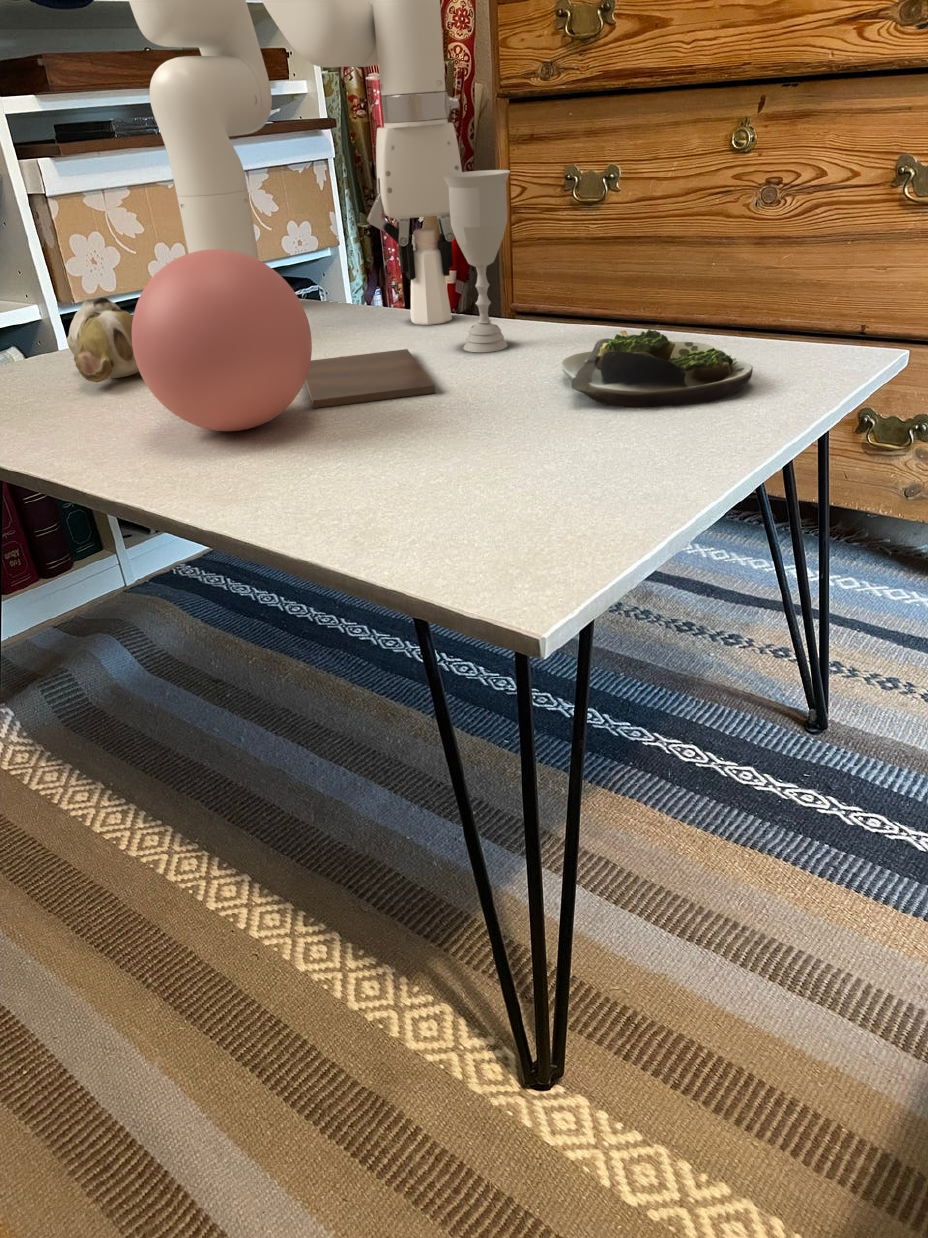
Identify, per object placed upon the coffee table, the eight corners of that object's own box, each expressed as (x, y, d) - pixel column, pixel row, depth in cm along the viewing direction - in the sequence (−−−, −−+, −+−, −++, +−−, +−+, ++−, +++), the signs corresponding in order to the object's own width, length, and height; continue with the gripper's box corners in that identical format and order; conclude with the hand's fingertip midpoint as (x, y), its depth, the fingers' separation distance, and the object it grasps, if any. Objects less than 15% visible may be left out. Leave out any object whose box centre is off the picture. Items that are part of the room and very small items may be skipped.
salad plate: (529, 364, 100) (527, 320, 98) (689, 346, 102) (691, 302, 100) (583, 417, 83) (582, 365, 81) (773, 394, 86) (778, 342, 83)
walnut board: (301, 368, 105) (300, 361, 104) (408, 355, 107) (407, 348, 106) (313, 408, 91) (312, 400, 91) (435, 392, 93) (435, 384, 93)
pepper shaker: (402, 321, 123) (393, 230, 118) (435, 313, 126) (429, 224, 120) (426, 327, 119) (418, 233, 114) (460, 319, 122) (454, 227, 116)
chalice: (480, 357, 104) (470, 177, 95) (442, 348, 109) (429, 176, 100) (529, 344, 108) (524, 170, 99) (490, 336, 113) (482, 169, 104)
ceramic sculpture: (126, 278, 111) (174, 302, 101) (143, 352, 116) (190, 382, 105) (33, 294, 106) (74, 321, 96) (54, 371, 111) (95, 404, 100)
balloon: (266, 383, 100) (240, 228, 93) (351, 427, 85) (328, 245, 78) (120, 415, 93) (79, 249, 86) (184, 468, 78) (142, 273, 71)
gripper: (476, 106, 115) (484, 265, 124) (340, 116, 113) (358, 278, 122) (491, 106, 109) (498, 273, 118) (347, 117, 106) (366, 288, 115)
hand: (427, 274), depth 120 cm, fingers closed on pepper shaker, 3 cm apart
